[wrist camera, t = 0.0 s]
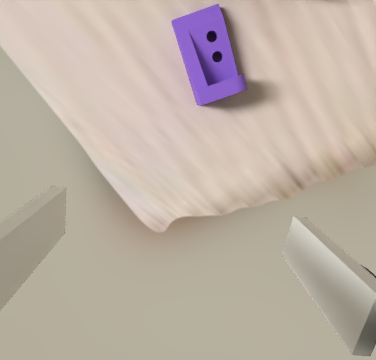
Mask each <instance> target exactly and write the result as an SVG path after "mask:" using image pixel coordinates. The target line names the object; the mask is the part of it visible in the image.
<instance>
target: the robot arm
mask: <svg viewBox="0 0 376 360" xmlns="http://www.w3.org/2000/svg"><path fill="white" fill-rule="evenodd" d="M65 216H66V188H63V187H55V186H51V187H50V188H48V189H47V190H45V191H44V192H42V193H41V194H40V195H38V196H36V197H35V198H34V199H32V200H31V201H29V202H28V203H26V204H25V205H24V206H22V207H20V208H19V209H18V210H16V211H15V212H13V213H12V214H10V215H9V216H7V217H6V218H5V219H3V220H2V221H0V310H1V309H2V308H3V307H4V305H6V303H7V302H8V301H9V300H10V299H11V297H12V296H13V295H14V294H15V293H16V291H17V290H18V289H19V288H20V287H21V285H22V284H23V283H24V282H25V280H26V279H27V278H28V277H29V276H30V274H31V273H32V272H33V271H34V269H35V268H36V267H37V266H38V265H39V264H40V262H41V261H42V260H43V259H44V258H45V256H46V255H47V254H48V253H49V252H50V250H51V249H52V248H53V247H54V245H55V244H56V243H57V242H58V241H59V240H60V238H61V237H62V236H63V235H64V234H65ZM282 257H283V258H284V260H285V261H286V262H287V264H288V265H289V267H290V268H291V269H292V271H293V272H294V274H295V275H296V277H297V278H298V279H299V281H300V282H301V284H302V285H303V286H304V288H305V289H306V291H307V292H308V294H309V295H310V296H311V298H312V299H313V301H314V302H315V303H316V305H317V306H318V308H319V309H320V311H321V312H322V313H323V315H324V316H325V318H326V319H327V320H328V322H329V323H330V325H331V326H332V327H333V329H334V330H335V332H336V333H337V335H338V336H339V337H340V339H341V340H342V342H343V343H344V345H345V346H346V347H347V349H348V350H349V351H350V353H351V354H352V355H361V356H371V353H372V351H373V349H374V347H375V345H376V276H375V275H374V274H373V273H372V272H370V271H369V270H368V269H367V268H365V267H363V266H362V265H360V264H359V263H358V262H357V261H355V260H354V259H353V258H352V257H351V256H350V255H349V254H347V253H346V252H345V251H344V250H343V249H342V248H340V247H339V246H338V245H337V244H336V243H335V242H334V241H332V240H331V239H330V238H329V237H328V236H327V235H326V234H324V233H323V232H322V231H321V230H320V229H319V228H317V227H316V226H315V225H314V224H313V223H312V222H311V221H309V220H308V219H307V218H306V217H299V216H294V217H293V220H292V224H291V227H290V231H289V234H288V238H287V241H286V245H285V248H284V251H283V255H282Z"/></svg>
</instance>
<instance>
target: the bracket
mask: <svg viewBox="0 0 376 360" xmlns="http://www.w3.org/2000/svg"><path fill="white" fill-rule="evenodd" d="M172 25H173V29H174V32H175V35H176V38H177V41H178V45H179V48H180V51H181V54H182V58H183V61H184V64H185V67H186V71H187V74H188V77H189V80H190V84H191V87H192V90H193V93H194V96H195V100H196V103H197V105H204V104H207V103H210V102H213V101H216V100H219V99H222V98H225V97H227V96H230V95H233V94H236V93H239V92H242V91H244V90H247V86H246V82H245V78H244V74H242V75H239V76H238V73H237V69H236V65H235V61H234V57H233V53H232V49H231V45H230V41H229V37H228V33H227V29H226V25H225V22H224V18H223V15H222V12H221V10H220V7H219V4H216V5H213V6H211V7H208V8H205V9H202V10H200V11H197V12H194V13H191V14H189V15H186V16H183V17H180V18H178V19H175V20H172ZM208 32H212V33H214V34H215V35H216V38H217V39H216V41H214V42H209V41H208V40H207V33H208ZM214 52H218V53H220V54H221V56H222V60H221V61H220V62H214V61H213V59H212V55H213V53H214Z"/></svg>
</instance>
